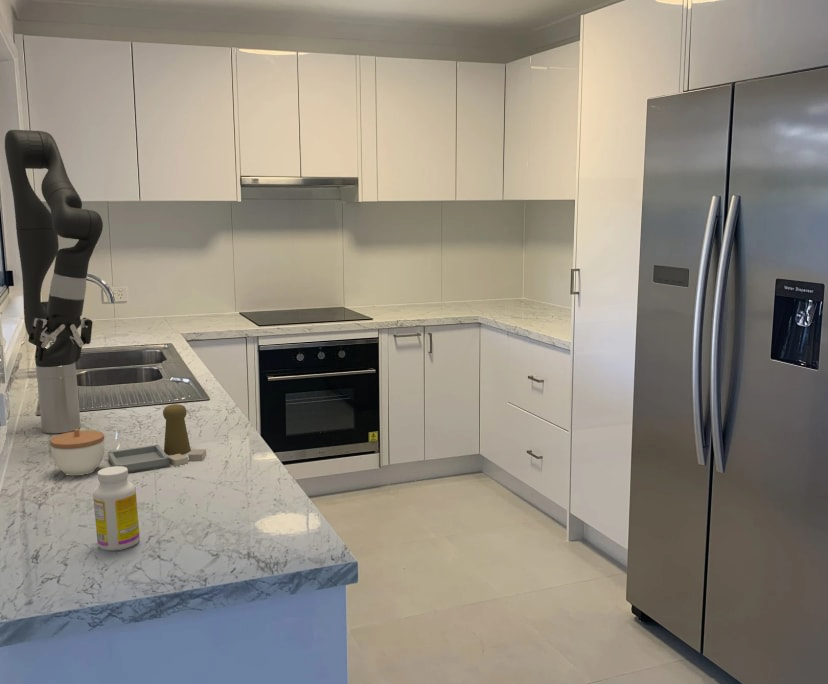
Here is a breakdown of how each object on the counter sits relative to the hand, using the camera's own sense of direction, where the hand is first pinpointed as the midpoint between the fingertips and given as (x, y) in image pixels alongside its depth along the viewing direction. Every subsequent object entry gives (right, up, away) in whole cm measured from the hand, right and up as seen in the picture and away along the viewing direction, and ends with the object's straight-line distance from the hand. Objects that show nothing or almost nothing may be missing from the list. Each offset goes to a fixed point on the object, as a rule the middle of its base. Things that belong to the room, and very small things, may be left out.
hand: (57, 361), depth 188 cm
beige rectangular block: (+35, -22, -6) cm, 41 cm away
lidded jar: (+11, -24, -15) cm, 30 cm away
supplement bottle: (+34, -29, -53) cm, 69 cm away
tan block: (+31, -23, -10) cm, 40 cm away
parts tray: (+22, -22, -10) cm, 33 cm away
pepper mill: (+28, -21, -1) cm, 35 cm away
